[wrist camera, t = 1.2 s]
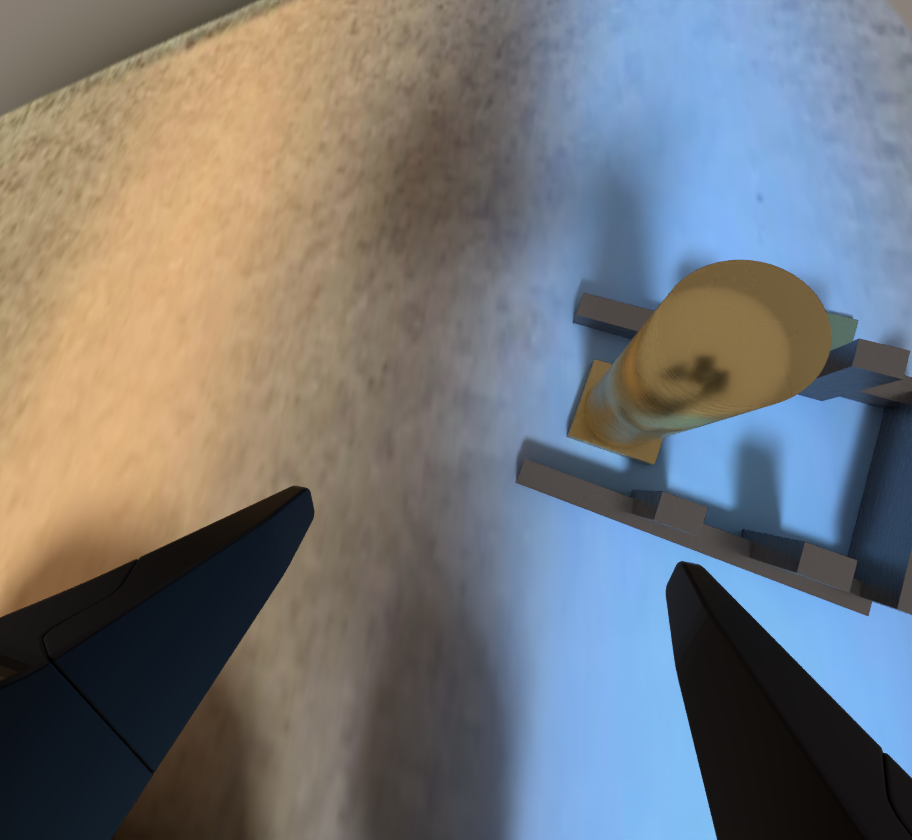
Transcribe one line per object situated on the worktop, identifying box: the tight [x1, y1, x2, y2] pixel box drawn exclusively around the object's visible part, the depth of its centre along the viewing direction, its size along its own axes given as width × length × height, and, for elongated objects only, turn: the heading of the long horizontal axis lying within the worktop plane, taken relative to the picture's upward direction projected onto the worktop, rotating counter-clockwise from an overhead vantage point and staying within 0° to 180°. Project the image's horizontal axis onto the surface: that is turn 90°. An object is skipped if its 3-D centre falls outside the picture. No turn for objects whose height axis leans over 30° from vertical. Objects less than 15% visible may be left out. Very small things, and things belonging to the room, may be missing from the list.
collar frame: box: [516, 293, 912, 616], centre depth 20 cm, size 16×18×4 cm
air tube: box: [567, 260, 831, 465], centre depth 16 cm, size 5×5×12 cm
